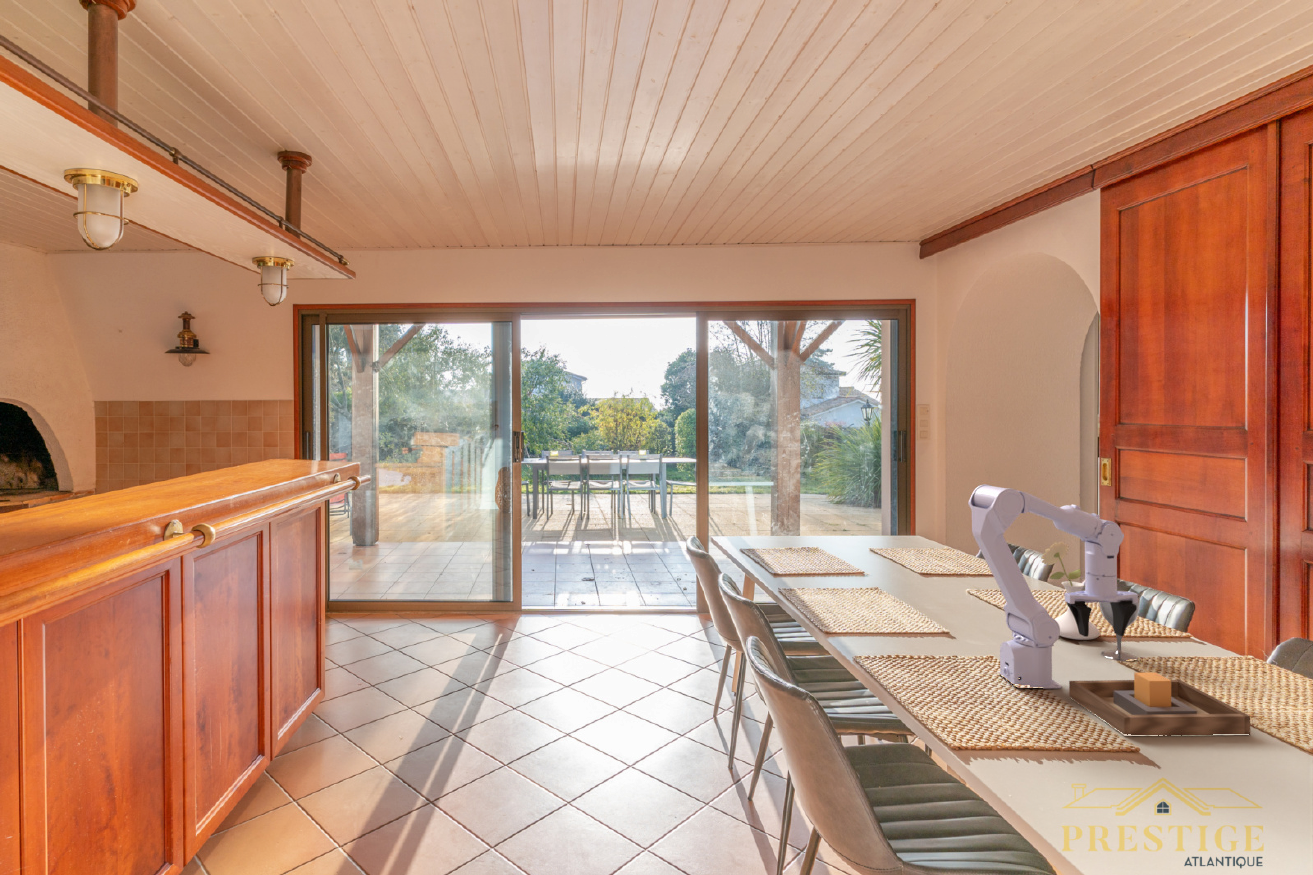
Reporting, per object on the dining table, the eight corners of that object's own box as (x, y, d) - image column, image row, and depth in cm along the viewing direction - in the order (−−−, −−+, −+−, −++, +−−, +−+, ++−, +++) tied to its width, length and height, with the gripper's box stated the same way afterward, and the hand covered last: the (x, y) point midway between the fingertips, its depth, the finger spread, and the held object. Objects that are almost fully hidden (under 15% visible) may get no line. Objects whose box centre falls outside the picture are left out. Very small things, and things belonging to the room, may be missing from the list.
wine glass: (1122, 664, 146) (1122, 600, 146) (1090, 652, 154) (1090, 591, 153) (1148, 659, 148) (1148, 596, 148) (1115, 648, 156) (1115, 588, 155)
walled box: (1124, 736, 114) (1124, 717, 114) (1069, 697, 130) (1069, 680, 130) (1250, 735, 113) (1250, 716, 113) (1179, 696, 129) (1179, 679, 129)
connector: (1149, 717, 120) (1149, 681, 120) (1134, 708, 124) (1134, 672, 123) (1171, 717, 120) (1171, 680, 119) (1155, 707, 124) (1155, 672, 123)
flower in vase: (1083, 629, 170) (1083, 536, 169) (1110, 644, 159) (1109, 545, 158) (1032, 628, 171) (1031, 537, 171) (1055, 643, 160) (1054, 545, 159)
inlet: (1147, 724, 117) (1146, 711, 117) (1113, 703, 126) (1113, 690, 126) (1196, 724, 117) (1196, 710, 117) (1159, 702, 126) (1159, 690, 126)
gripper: (1078, 578, 135) (1079, 641, 135) (1148, 577, 134) (1148, 640, 135) (1058, 570, 142) (1059, 630, 142) (1124, 569, 141) (1125, 629, 142)
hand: (1101, 634), depth 139 cm, fingers open, 7 cm apart
